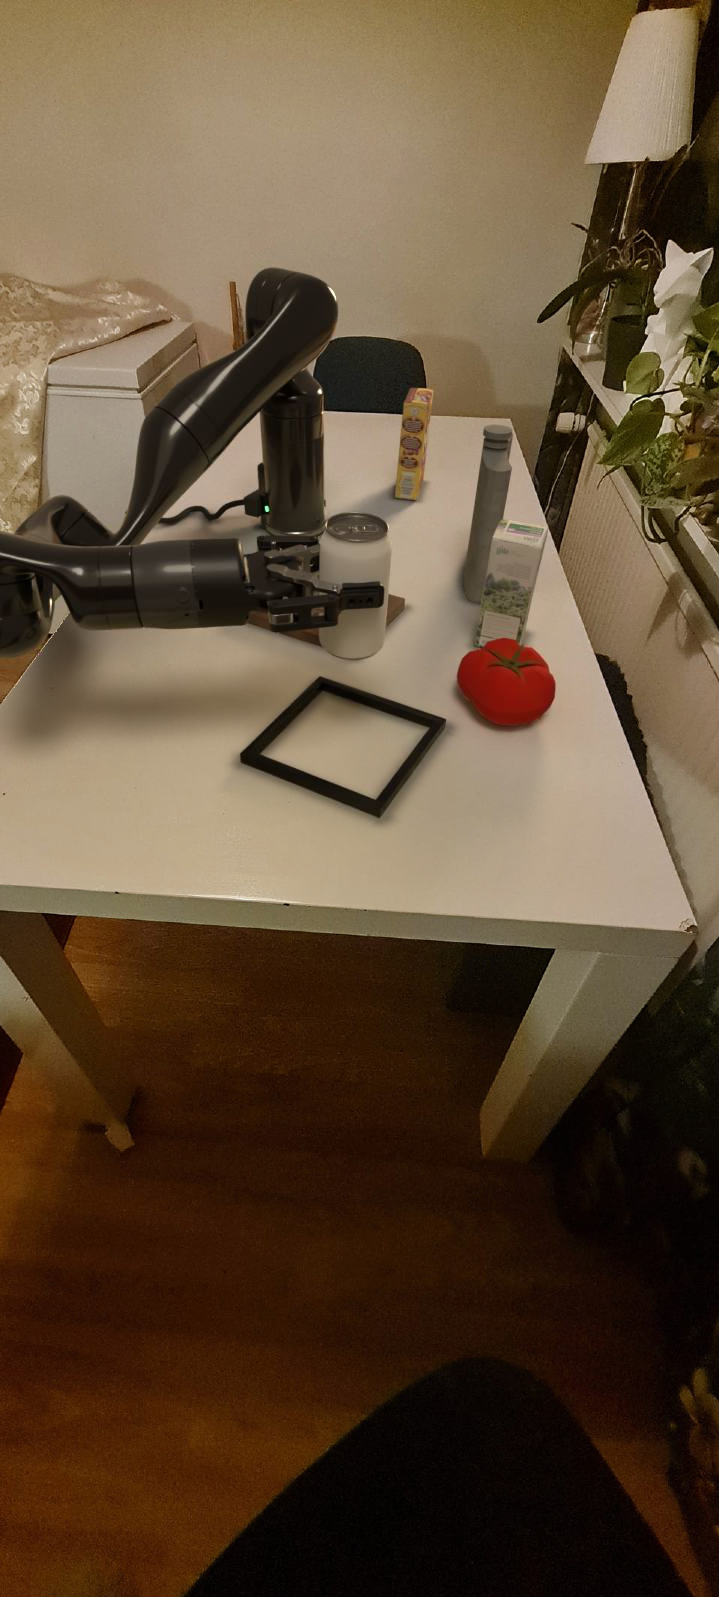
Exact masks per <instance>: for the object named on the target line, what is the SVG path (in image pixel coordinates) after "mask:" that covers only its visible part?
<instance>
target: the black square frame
mask: <svg viewBox="0 0 719 1597" xmlns="http://www.w3.org/2000/svg"><path fill="white" fill-rule="evenodd" d="M322 692H325V693H329V694H331V695H334V696H337V697H339V698H343V699H345V700H349V701H351V702H354V703H357V704H359V705H363V706H366V707H369V708H372V709H375V710H377V711H380V712H383V713H386V714H389V715H392V716H394V717H397V718H401V719H403V720H406V721H409V722H412V723H414V724H418V725H421V726H423V727H427V728H428V729H427V731H426V732H425V733H424V735H423V736H422V737H421V738H420V739H419V741H418V742H417V744H416V745H415V747H414V748H413V750H412V751H411V752H410V753H409V754H408V755H407V757H406V759H405V760H404V761H403V763H402V764H401V765H400V766H399V768H398V770H396V772H395V773H394V775H393V776H392V777H391V779H390V780H389V781H388V783H387V784H386V785H385V787H384V788H383V789H382V790H381V792H380V793H379V795H378V796H377V797H376V798H373V797H370V796H368V795H365V794H363V793H360V792H358V791H355V790H352V789H350V788H347V787H345V786H342V785H339V784H336V783H334V782H332V781H329V780H327V779H324V778H321V777H319V776H317V775H314V774H312V773H309V772H307V771H305V770H301V769H299V768H296V767H294V766H292V765H288V764H286V763H284V762H281V761H278V760H276V759H273V758H271V757H268V756H266V755H263V754H262V752H263V751H265V749H266V748H268V746H269V745H270V744H271V743H272V742H273V741H274V740H275V739H277V737H279V735H280V734H282V732H284V730H285V729H286V728H287V727H289V725H291V723H292V722H293V721H294V720H295V719H296V718H298V716H299V715H300V714H301V713H303V711H304V710H305V709H306V708H308V706H309V705H310V704H312V702H313V701H314V700H315V699H316V698H317V697H318V696H319V695H320V694H321V693H322ZM446 724H447V718H445V717H442V716H439V715H436V714H433V713H430V712H427V711H424V710H421V709H419V708H415V707H412V706H410V705H406V704H404V703H400V702H398V701H394V700H391V699H389V698H386V697H383V696H380V695H378V694H375V693H372V692H368V691H366V690H363V689H361V688H360V689H359V688H356V687H353V686H351V685H348V684H344V683H342V682H340V681H336V680H333V679H330V678H327V677H324V676H320V675H319V676H318V677H317V678H316V679H315V680H313V682H311V684H310V685H308V686H307V688H305V690H304V691H302V693H300V694H299V695H298V696H297V697H296V698H295V699H294V700H293V701H292V702H291V703H290V704H289V705H288V706H287V707H286V708H285V709H284V710H283V711H282V712H281V713H280V714H279V715H278V716H277V717H276V718H274V719H273V721H271V723H270V724H269V725H268V726H267V727H266V728H264V730H262V731H261V732H260V734H259V735H258V736H256V737H255V738H254V739H253V740H252V741H251V742H250V743H249V744H248V745H247V746H246V747H245V748H244V749H243V750H242V751H241V752H240V753H239V758H240V760H239V761H240V763H241V764H243V765H247V766H249V767H251V768H254V769H256V770H259V771H261V772H264V773H266V774H269V775H270V776H271V775H272V776H274V777H275V778H276V777H277V778H279V779H281V780H284V781H286V782H288V783H291V784H294V785H295V786H299V787H301V788H304V789H306V790H308V791H311V792H314V793H316V794H319V795H321V796H323V797H326V798H329V799H331V800H333V801H335V802H338V803H342V804H344V805H346V806H348V807H351V808H354V809H356V810H358V811H361V812H363V813H366V814H368V815H371V816H373V817H376V818H378V819H380V818H381V817H382V816H383V814H384V813H385V811H386V810H387V809H388V807H389V806H390V804H391V803H392V802H393V800H394V799H395V798H396V796H397V795H398V794H399V792H400V790H401V789H402V788H403V787H404V785H405V784H406V782H407V781H408V780H409V779H410V777H411V776H412V774H413V773H414V771H415V770H416V769H417V767H418V766H419V765H420V763H421V762H422V761H423V759H424V758H425V757H426V755H427V754H428V753H429V751H430V749H431V748H432V747H433V745H434V744H435V743H436V741H437V740H438V739H439V737H440V736H441V735H442V733H443V732H444V730H445V729H446V726H447V725H446Z"/></svg>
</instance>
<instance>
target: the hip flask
mask: <svg viewBox="0 0 719 1597" xmlns="http://www.w3.org/2000/svg"><path fill="white" fill-rule="evenodd" d="M482 435H483V443H482V447H481V448H482V449H481V456H480V464H479V470H478V476H477V484H476V491H475V497H474V505H473V510H472V511H473V512H472V518H471V525H470V531H469V539H468V546H467V550H466V558H465V566H464V572H463V591H464V594H465V598H466V599H467V600H468V601H469V602H472V603H475V604H476V603H477V604H481V602H482V596H483V590H484V584H485V579H486V573H487V567H488V561H489V555H490V549H491V543H492V539H493V535H494V533H495V531H496V529H497V526H498V525H499V523H500V521H501V519H504V516H505V509H506V504H507V499H508V493H509V487H510V482H511V475H512V471H513V467H512V465H511V463H510V456H511V450H512V444H513V439H514V434H513V429H512V428H511V427H509V426H507V425H503V424H488V425H485V426H484V427H483V432H482Z"/></svg>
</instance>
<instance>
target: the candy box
mask: <svg viewBox="0 0 719 1597" xmlns="http://www.w3.org/2000/svg"><path fill="white" fill-rule="evenodd" d="M433 398H434V390H433V389H429V388H422V387H410V388H409V391H408V393H407V395H406V397H405V400H404V401H403V404H402V406H403V407H402V418H401V428H400V438H399V447H398V448H399V449H398V459H397V471H396V481H395V491H394V498H396V499H400V500H401V499H402V500H409V501H417V500H418V497H419V494H420V491H421V489H422V485H423V483H424V477H425V468H426V461H427V460H426V458H427V452H428V451H427V450H428V444H429V443H428V442H429V434H430V425H431V415H432V407H433V406H432V405H433Z"/></svg>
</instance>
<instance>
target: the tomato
mask: <svg viewBox="0 0 719 1597" xmlns="http://www.w3.org/2000/svg"><path fill="white" fill-rule="evenodd" d="M456 683H457V685H458V688H459V690H460V691H461V693H462V695H463V697H464V698H466V699H467V700H468V701H470V702H472V704H473V705H474V707H475V709H476V711H477V713H479V714H480V715H481V716H482V717H483V718H485V719H486V720H488V721H490V722H491V723H494V724H497V725H499V726H510V727H512V726H513V727H514V726H522V725H528V724H530V723H532V722H535V721H537V720H539V719H540V718H541V717H542V716H544V715H545V713H547V711H548V710H549V709H550V708H551V707H552V704H553V703H554V700H555V697H556V688H557V687H556V686H557V685H556V684H557V683H556V680H555V678H554V675H553V674H552V673H551V671H550V667H549V664H548V663H547V662H546V660H545V659H544V657H543V656H542V655H541V654H540V653H539V652H538V651H537V650H535V648H533V647H531V646H524V644H521V646H520V645H519V644H518V642H517V641H516V640H515V639H509V638H500V639H496V640H492V641H488V642H487V643H486V644H485V645H484V646H483V647H481V649H474V650H470V651H468V652H467V653H466V654H465V655H463V657H462V658H461V659H460V662H459V665H458V668H457V673H456Z"/></svg>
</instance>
